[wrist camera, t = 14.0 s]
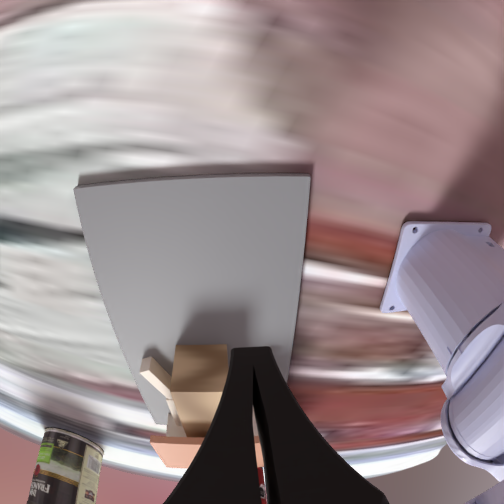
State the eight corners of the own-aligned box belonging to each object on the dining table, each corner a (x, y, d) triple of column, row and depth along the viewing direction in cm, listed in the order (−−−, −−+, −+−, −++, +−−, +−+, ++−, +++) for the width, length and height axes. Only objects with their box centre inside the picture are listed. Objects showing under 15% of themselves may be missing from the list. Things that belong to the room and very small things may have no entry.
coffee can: (35, 430, 35) (17, 501, 23) (61, 423, 32) (42, 508, 20) (83, 458, 39) (73, 525, 27) (116, 453, 37) (107, 532, 25)
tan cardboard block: (226, 344, 24) (227, 391, 20) (231, 408, 29) (233, 446, 25) (175, 344, 23) (169, 391, 19) (192, 408, 28) (190, 446, 25)
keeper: (308, 173, 18) (346, 222, 12) (279, 417, 32) (287, 468, 26) (77, 185, 17) (22, 236, 11) (156, 419, 31) (151, 470, 25)
